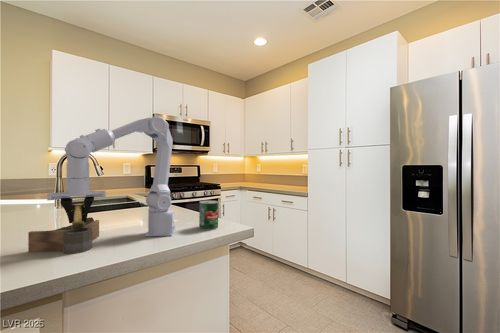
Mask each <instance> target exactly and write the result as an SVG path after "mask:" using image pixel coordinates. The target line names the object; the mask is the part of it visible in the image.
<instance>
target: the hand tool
mask: <svg viewBox="0 0 500 333" xmlns="http://www.w3.org/2000/svg"><path fill="white" fill-rule="evenodd" d="M93 221H95V220H94V217H87V221H86V222H84V226H86V225H88V224H89V223H91V222H93ZM68 229H72V224H70V225H67V226H62V227H60V228H56V229H51V230H49V231H55V230H68Z"/></svg>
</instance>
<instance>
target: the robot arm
mask: <svg viewBox="0 0 500 333" xmlns="http://www.w3.org/2000/svg"><path fill="white" fill-rule="evenodd" d="M169 127H170V124H169V123H168V121H166V120H165V118H164V117H162V116H161V115H153V117H146V118H141V119H137V120H134V121H132V122H130V123H129V122H128V123H126V124H124V125H122V126H119V127H117V128H114V129H112V130H109V129H107V128H102V129H101V128H97V129H95V132H91V133H88V134H86V135H84V134H82V135H79V137H76V138H75V139H72V140H70V141H68V142H67V144H66V145H65V147H64V151H65V154H66V155H67V156H66V191H65V192H64V191H62V192H49V193H47V196H46V197H47V198H46V200H47V201H57V200H59V201H60V204H61V206H62V207H63V209H64V211H65V213H66V216H67V218H68V223H69V224H72V205H73V200H74V199H75V200H76V199H84V200H83V204H84V222H86V221H87V218H88V214H89V211H90V209H91V207H92V204H93V203H94V201H95V198H106V194H107V192H106V191H107V190H90V163H89V161H90V160H89V158H90V157H89V155H91V153H96V152H99V151H101V150H103V149H105V148H108V147H111V146H113V145H114V144H115V141H116V140H117V139H120V138H123V137H126V136H128V135H131V134H133V133H134V134H135V133H144V134H145V135H146V136H148V137H150V138H152V139H153V140H154V142H155V143H156V144H157V147H156V148H157V149H156V157H155V166H154V171H153V172H154V174H153V182H152V185H151V187H150V189H149V193H148V194H147V196H146V198H145V203H146V205H147V206H148V210H147V211H148V212H147V213H148V214H147V215H148V217H147V218H148V220H147V221H148V225H147V228H148V229H147V230H148V231H147V232H146V234H145V235H144V237H165V236H166V237H170V236H173V234H174V232H175V230H176V228H175V227H176V224H175V222H176V221H175V216H176V215H175V210H174V209H173V210H172V209H170V208H171V206H172V197H171V190H170V188H169V185H168V184H169V176H170V168H171V159H172V151H173V150H172V149H173V142H174V140H173V137H172V134H171V131H170V128H169Z"/></svg>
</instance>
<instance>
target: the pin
mask: <svg viewBox="0 0 500 333" xmlns="http://www.w3.org/2000/svg"><path fill="white" fill-rule="evenodd" d="M71 225H72V228H74V229H75V228H82V227H84V203H76V204H75V203H74V204H72V223H71Z"/></svg>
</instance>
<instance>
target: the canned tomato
mask: <svg viewBox="0 0 500 333" xmlns="http://www.w3.org/2000/svg"><path fill="white" fill-rule="evenodd" d="M198 207H199V216H198V217H199V228H198V229H199V230H202V231H213V230H216V229H217V230H218V228H219V201H218V200H214V199H213V200H211V199H209V200H207V199H206V200H200V201H199V206H198Z"/></svg>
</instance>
